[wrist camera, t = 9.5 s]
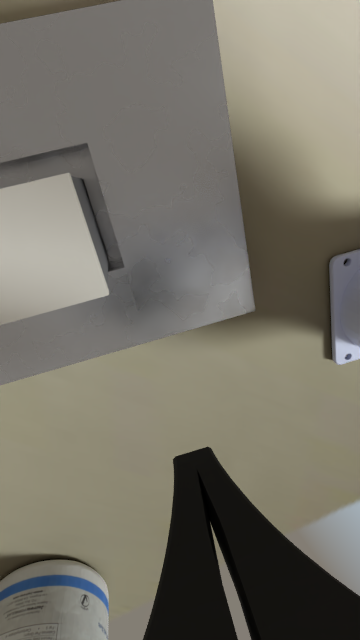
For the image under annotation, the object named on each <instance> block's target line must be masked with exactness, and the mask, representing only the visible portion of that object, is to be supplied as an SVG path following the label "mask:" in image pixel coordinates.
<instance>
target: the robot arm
mask: <svg viewBox="0 0 360 640" xmlns="http://www.w3.org/2000/svg"><path fill="white" fill-rule="evenodd" d="M345 259H347V262H346V264H343V263H344V261H345ZM329 271H330V300H331V330H332V359H333V361H334V362H335V363H336V364H339V365H341V364H344V363H348V362H351V361H354V360H357V359H360V249H358V250H354V251H351V252H347V253H344V254H340V255H337V256H335V257H333V258H332V259H331V261H330V264H329ZM347 354H348V355H347ZM346 355H347V356H346ZM345 356H346V357H345ZM173 464H174V495H173V506H172V516H171V523H170V530H169V537H168V543H167V548H166V554H165V559H164V564H163V568H162V573H161V577H160V581H159V585H158V589H157V593H156V597H155V601H154V605H153V609H152V612H151V615H150V619H149V622H148V625H147V629H146V632H145V635H144V638H143V640H238V639H237V635H236V632H235V628H234V624H233V621H232V617H231V614H230V610H229V606H228V603H227V599H226V596H225V592H224V588H223V585H222V580H221V575H220V570H219V565H218V560H217V555H216V549H215V544H214V539H213V534H212V529H211V525H212V528H213V530H214V533H215V536H216V538H217V541H218V544H219V546H220V549H221V551H222V554H223V557H224V559H225V562H226V565H227V567H228V570H229V572H230V575H231V578H232V580H233V583H234V586H235V588H236V591H237V594H238V597H239V600H240V603H241V606H242V609H243V613H244V616H245V619H246V623H247V626H248V629H249V633H250V636H251V640H360V596H359V595H357V594H356V593H354V592H353V591H352V590H350V589H349V588H347V587H346V586H345V585H344V584H342V583H341V582H339V581H338V580H337V579H335V578H334V577H333V576H331V575H330V574H329V573H328V572H326V571H325V570H324V569H323V568H321V567H320V566H319V565H318V564H317V563H315V562H314V561H313V560H312V559H310V558H309V557H308V556H307V555H305V554H304V553H303V552H302V551H301V550H299V549H298V548H297V547H296V546H295V545H294V544H293V543H292V542H290V541H289V540H288V539H287V538H286V537H285V536H284V535H283V534H282V533H281V532H280V531H279V530H278V529H276V528H275V527H274V526H273V525H272V524H271V523H270V522H269V521H268V520H267V519H266V518H265V517H264V516H263V515H262V514H261V512H260V511H259V510H258V509H257V508H256V507H255V506H254V505H253V504H252V503H251V502H250V501H249V499H248V498H247V497H246V496H245V495H244V494H243V492H242V491H241V490H240V489H239V488H238V486H237V485H236V484H235V483H234V482H233V480H232V479H231V478H230V477H229V475H228V474H227V472H226V471H225V470H224V468H223V467H222V466H221V464H220V463H219V461H218V460H217V458H216V456H215V455H214V453H213V451H212V449H211V448H209V447H206V448H202V449H199V450H196V451H192V452H189V453H186V454H183V455H179V456H176V457H175V458H174V459H173ZM210 522H211V524H210Z"/></svg>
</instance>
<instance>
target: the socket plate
mask: <svg viewBox="0 0 360 640" xmlns="http://www.w3.org/2000/svg"><path fill="white" fill-rule="evenodd" d="M65 173H70V175H71V176H73V177H77V178H81V179H83V180H84V183H85V186H86V189H87V192H88V195H89V199H90V202H91V205H92V208H93V211H94V214H95V217H96V221H97V224H98V227H99V230H100V233H101V236H102V239H103V243H104V246H105V249H106V252H107V255H108V285H107V286H108V289H109V295H108V296H104V297H100V298H97V299H93V300H89V301H86V302H82V303H79V304H75V305H71V306H68V307H64V308H60V309H57V310H53V311H50V312H46V313H42V314H39V315H35V316H32V317H28V318H24V319H21V320H17V321H13V322H10V323H6V324H3V325H0V385H3V384H6V383H10V382H13V381H16V380H20V379H23V378H27V377H30V376H34V375H37V374H40V373H44V372H47V371H51V370H54V369H58V368H61V367H64V366H68V365H71V364H75V363H78V362H82V361H85V360H88V359H92V358H95V357H99V356H102V355H106V354H109V353H112V352H116V351H119V350H123V349H126V348H129V347H133V346H136V345H140V344H143V343H147V342H150V341H153V340H157V339H160V338H164V337H167V336H171V335H174V334H177V333H181V332H184V331H188V330H191V329H195V328H198V327H201V326H205V325H208V324H212V323H215V322H219V321H222V320H225V319H229V318H232V317H236V316H239V315H243V314H246V313H249V312H253V311H255V304H254V296H253V289H252V282H251V275H250V267H249V260H248V253H247V246H246V239H245V231H244V224H243V217H242V210H241V202H240V195H239V188H238V181H237V173H236V166H235V159H234V152H233V144H232V137H231V130H230V123H229V115H228V108H227V101H226V94H225V86H224V79H223V72H222V65H221V57H220V50H219V43H218V36H217V29H216V21H215V14H214V7H213V0H120V1H115V2H110V3H105V4H100V5H95V6H89V7H84V8H79V9H74V10H69V11H64V12H59V13H53V14H48V15H43V16H38V17H33V18H28V19H22V20H17V21H12V22H7V23H2V24H0V189H2V188H6V187H10V186H15V185H19V184H23V183H27V182H31V181H35V180H40V179H44V178H48V177H52V176H56V175H60V174H65Z"/></svg>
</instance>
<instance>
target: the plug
mask: <svg viewBox="0 0 360 640" xmlns="http://www.w3.org/2000/svg"><path fill="white" fill-rule="evenodd" d="M107 285H108V255H107V252H106V249H105V246H104V243H103V239H102V236H101V233H100V230H99V227H98V224H97V221H96V217H95V214H94V211H93V208H92V205H91V202H90V199H89V195H88V192H87V189H86V186H85V183H84V180H83V179H81V178H77V177H73V176H71V175H70V173H65V174H60V175H56V176H52V177H48V178H44V179H40V180H35V181H31V182H27V183H23V184H19V185H15V186H10V187H6V188H2V189H0V325H3V324H6V323H10V322H13V321H17V320H21V319H24V318H28V317H32V316H35V315H39V314H42V313H46V312H50V311H53V310H57V309H60V308H64V307H68V306H71V305H75V304H79V303H82V302H86V301H89V300H93V299H97V298H100V297H104V296H108V295H109V289H108V286H107Z"/></svg>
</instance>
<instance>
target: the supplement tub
mask: <svg viewBox="0 0 360 640" xmlns="http://www.w3.org/2000/svg"><path fill="white" fill-rule="evenodd" d="M108 599H109V595H108V589H107V585H106V583H105V581H104V580H103V578H102V577H101V576H100V575H99V573H97V572H96V571H95V570H94V569H92V568H91V567H89V566H87V565H85V564H82V563H80V562H76V561H71V560H47V561H40V562H36V563H33V564H29V565H26V566H24V567H22V568H19V569H17V570H15V571H14V572H12V573H10V574H9V575H7V576H6V577H5V578H4V579H2V580H1V581H0V640H108V610H109V609H108Z"/></svg>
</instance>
